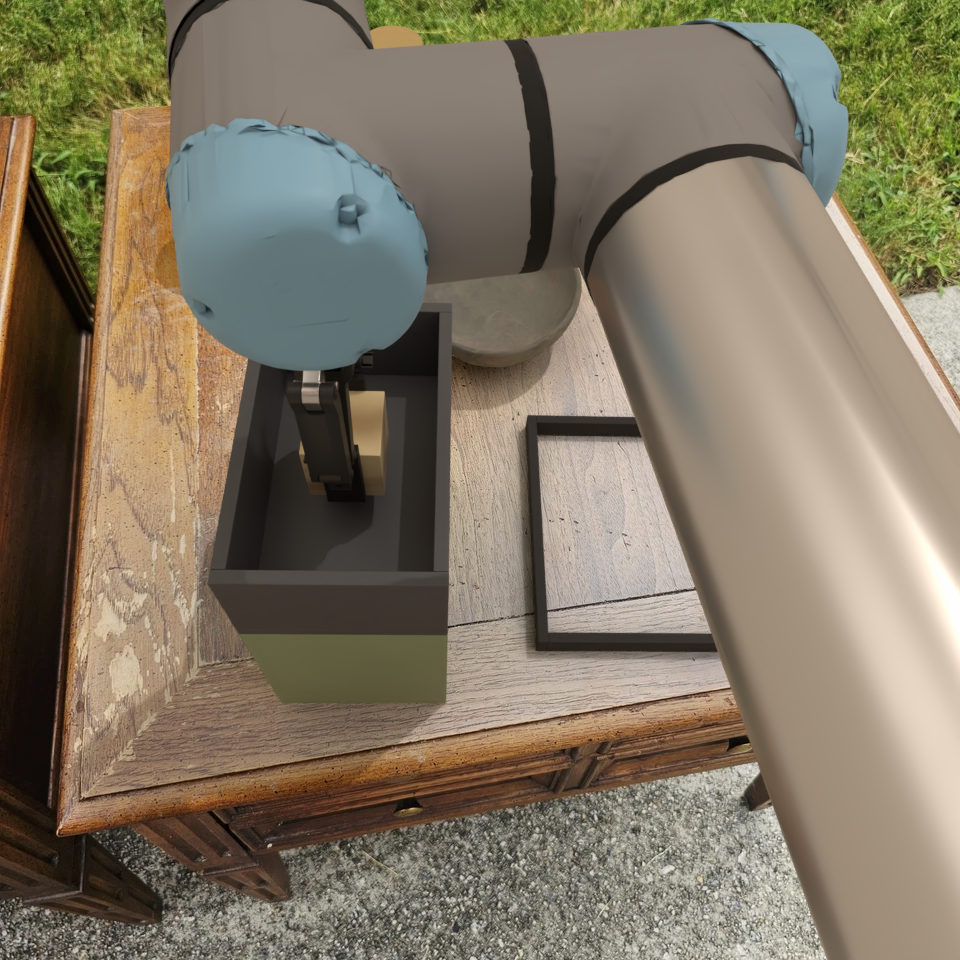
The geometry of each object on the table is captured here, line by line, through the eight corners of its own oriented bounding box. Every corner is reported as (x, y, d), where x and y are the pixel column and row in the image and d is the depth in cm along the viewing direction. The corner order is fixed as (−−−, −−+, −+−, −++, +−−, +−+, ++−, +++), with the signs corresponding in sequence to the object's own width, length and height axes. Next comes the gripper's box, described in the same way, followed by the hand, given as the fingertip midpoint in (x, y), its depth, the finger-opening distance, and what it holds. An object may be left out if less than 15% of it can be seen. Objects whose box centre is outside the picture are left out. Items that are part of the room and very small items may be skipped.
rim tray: (761, 652, 76) (770, 643, 74) (535, 651, 76) (538, 642, 73) (717, 431, 90) (724, 418, 88) (525, 427, 89) (527, 414, 87)
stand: (446, 703, 73) (447, 635, 57) (281, 702, 72) (238, 634, 57) (449, 479, 85) (450, 374, 70) (308, 477, 84) (279, 371, 69)
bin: (447, 635, 57) (448, 586, 50) (238, 634, 57) (206, 583, 49) (450, 374, 70) (452, 302, 62) (279, 371, 69) (259, 298, 61)
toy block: (385, 495, 58) (380, 455, 54) (310, 494, 58) (298, 454, 53) (388, 434, 61) (384, 390, 56) (317, 433, 61) (307, 389, 56)
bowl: (604, 363, 94) (616, 317, 87) (442, 418, 89) (442, 373, 82) (526, 247, 104) (532, 197, 97) (377, 290, 99) (372, 241, 92)
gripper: (254, 99, 44) (312, 365, 64) (196, 356, 35) (285, 574, 54) (389, 104, 44) (405, 367, 64) (368, 359, 35) (394, 575, 55)
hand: (350, 461), depth 59 cm, fingers closed on toy block, 5 cm apart
